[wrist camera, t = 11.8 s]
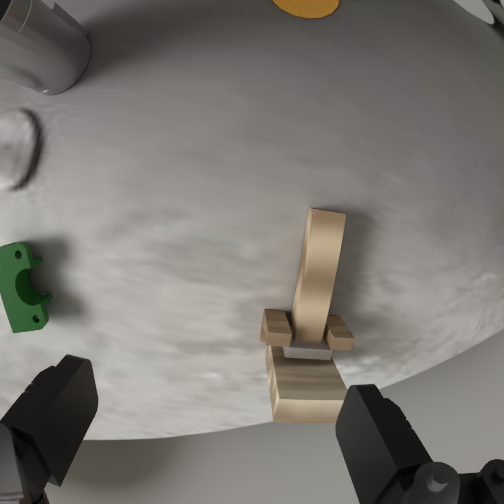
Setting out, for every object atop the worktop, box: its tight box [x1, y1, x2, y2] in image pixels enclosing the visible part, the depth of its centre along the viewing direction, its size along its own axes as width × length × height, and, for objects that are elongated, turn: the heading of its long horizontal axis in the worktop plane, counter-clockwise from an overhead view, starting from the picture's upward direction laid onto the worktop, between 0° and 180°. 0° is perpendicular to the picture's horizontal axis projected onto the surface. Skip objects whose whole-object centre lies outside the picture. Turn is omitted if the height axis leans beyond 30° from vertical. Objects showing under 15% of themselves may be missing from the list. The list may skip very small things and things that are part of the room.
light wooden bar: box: [282, 208, 346, 360], centre depth 32 cm, size 15×5×6 cm, turn 172°
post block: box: [259, 309, 355, 423], centre depth 31 cm, size 7×9×12 cm
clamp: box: [0, 242, 52, 333], centre depth 32 cm, size 12×6×9 cm, turn 1°
